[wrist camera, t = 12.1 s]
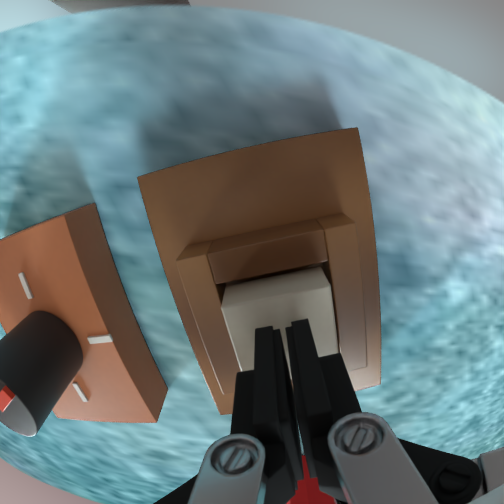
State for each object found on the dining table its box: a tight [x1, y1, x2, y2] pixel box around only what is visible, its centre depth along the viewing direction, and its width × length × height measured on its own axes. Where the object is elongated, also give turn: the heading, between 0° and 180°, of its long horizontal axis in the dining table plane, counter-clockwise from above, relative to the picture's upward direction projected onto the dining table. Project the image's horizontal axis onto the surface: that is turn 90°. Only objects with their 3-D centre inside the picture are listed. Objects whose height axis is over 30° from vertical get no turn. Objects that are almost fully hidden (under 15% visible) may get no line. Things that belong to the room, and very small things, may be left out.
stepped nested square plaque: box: [137, 127, 381, 415], centre depth 14 cm, size 13×9×4 cm
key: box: [221, 267, 339, 379], centre depth 11 cm, size 4×4×2 cm
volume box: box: [0, 203, 168, 423], centre depth 15 cm, size 12×8×3 cm
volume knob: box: [0, 311, 83, 437], centre depth 11 cm, size 4×4×6 cm
